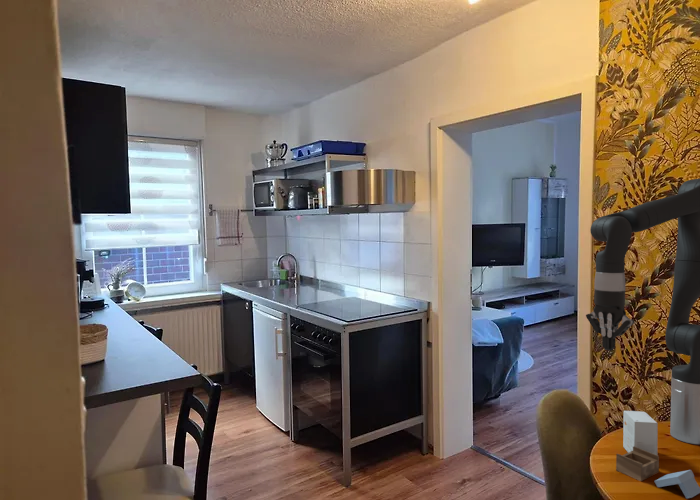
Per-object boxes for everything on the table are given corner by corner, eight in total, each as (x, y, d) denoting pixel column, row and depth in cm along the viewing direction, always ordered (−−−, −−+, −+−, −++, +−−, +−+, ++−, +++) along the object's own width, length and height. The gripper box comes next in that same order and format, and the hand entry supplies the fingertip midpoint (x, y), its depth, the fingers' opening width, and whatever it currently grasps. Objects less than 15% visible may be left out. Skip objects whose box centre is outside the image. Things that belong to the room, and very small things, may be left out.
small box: (657, 462, 121) (658, 423, 121) (633, 460, 122) (634, 421, 122) (644, 448, 129) (645, 411, 129) (622, 446, 130) (623, 409, 130)
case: (633, 462, 122) (634, 446, 121) (658, 472, 116) (658, 455, 116) (616, 470, 118) (616, 454, 117) (640, 481, 112) (641, 464, 112)
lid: (690, 469, 109) (703, 490, 107) (667, 474, 114) (678, 494, 111) (677, 476, 106) (690, 498, 104) (654, 481, 110) (665, 502, 108)
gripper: (641, 289, 126) (640, 353, 127) (595, 285, 137) (594, 343, 138) (626, 292, 122) (625, 357, 123) (579, 286, 134) (578, 346, 134)
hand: (608, 349), depth 131 cm, fingers closed
